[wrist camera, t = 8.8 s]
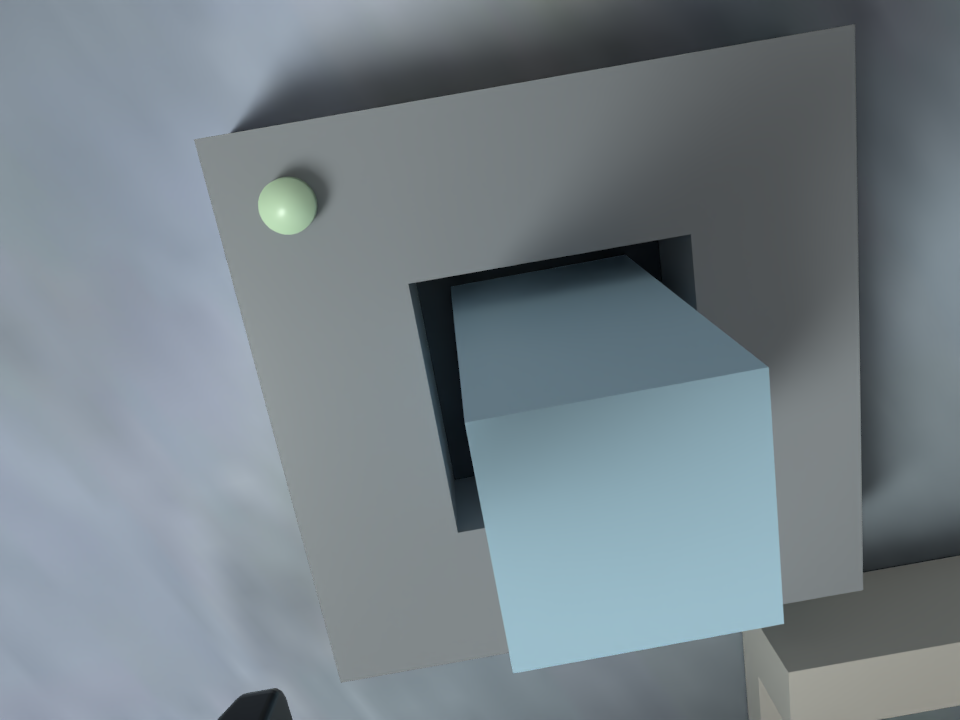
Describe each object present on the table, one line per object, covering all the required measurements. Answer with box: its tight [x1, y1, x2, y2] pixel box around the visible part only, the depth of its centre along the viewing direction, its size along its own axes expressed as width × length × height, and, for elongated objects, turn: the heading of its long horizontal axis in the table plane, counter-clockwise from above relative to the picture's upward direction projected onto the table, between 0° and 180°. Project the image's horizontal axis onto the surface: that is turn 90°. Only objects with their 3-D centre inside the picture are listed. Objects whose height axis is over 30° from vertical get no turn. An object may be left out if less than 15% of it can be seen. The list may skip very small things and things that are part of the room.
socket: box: [194, 24, 863, 683], centre depth 17 cm, size 12×12×3 cm
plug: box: [451, 255, 784, 673], centre depth 15 cm, size 4×4×8 cm
